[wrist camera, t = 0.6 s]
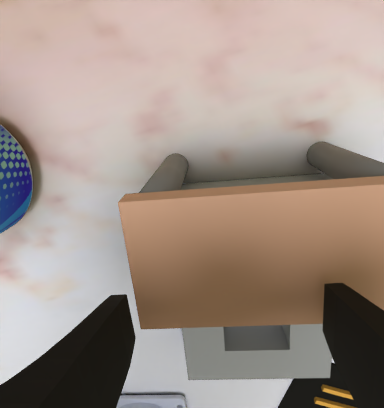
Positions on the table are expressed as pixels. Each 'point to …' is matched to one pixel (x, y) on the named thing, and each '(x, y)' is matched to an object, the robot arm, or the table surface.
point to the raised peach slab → (255, 244)
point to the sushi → (318, 392)
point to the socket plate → (257, 333)
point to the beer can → (13, 180)
